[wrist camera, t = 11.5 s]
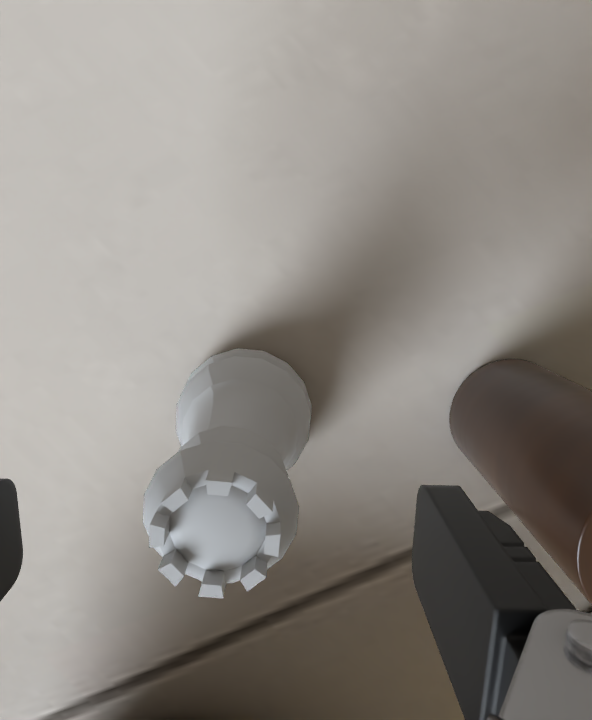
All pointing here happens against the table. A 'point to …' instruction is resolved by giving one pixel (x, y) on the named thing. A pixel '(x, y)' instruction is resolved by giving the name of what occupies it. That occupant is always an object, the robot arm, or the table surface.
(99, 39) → the table surface
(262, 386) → the rook chess piece
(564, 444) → the post
